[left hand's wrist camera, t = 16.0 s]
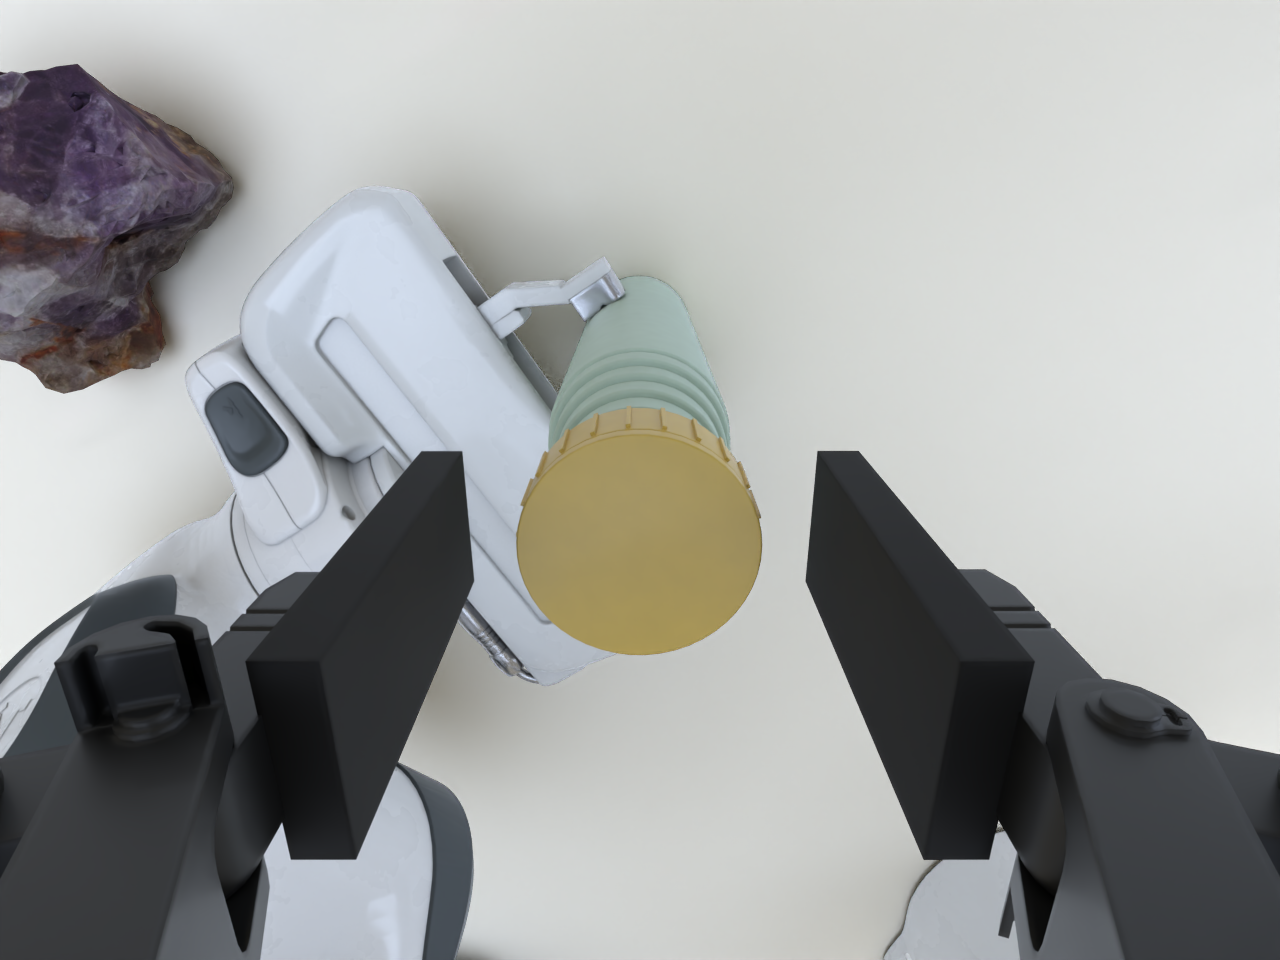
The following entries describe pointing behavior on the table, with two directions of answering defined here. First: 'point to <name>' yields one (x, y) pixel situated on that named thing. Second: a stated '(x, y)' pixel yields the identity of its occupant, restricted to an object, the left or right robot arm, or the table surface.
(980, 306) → the table surface
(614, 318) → the bottle
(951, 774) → the left robot arm
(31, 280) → the rock
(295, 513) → the right robot arm
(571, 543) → the cap
